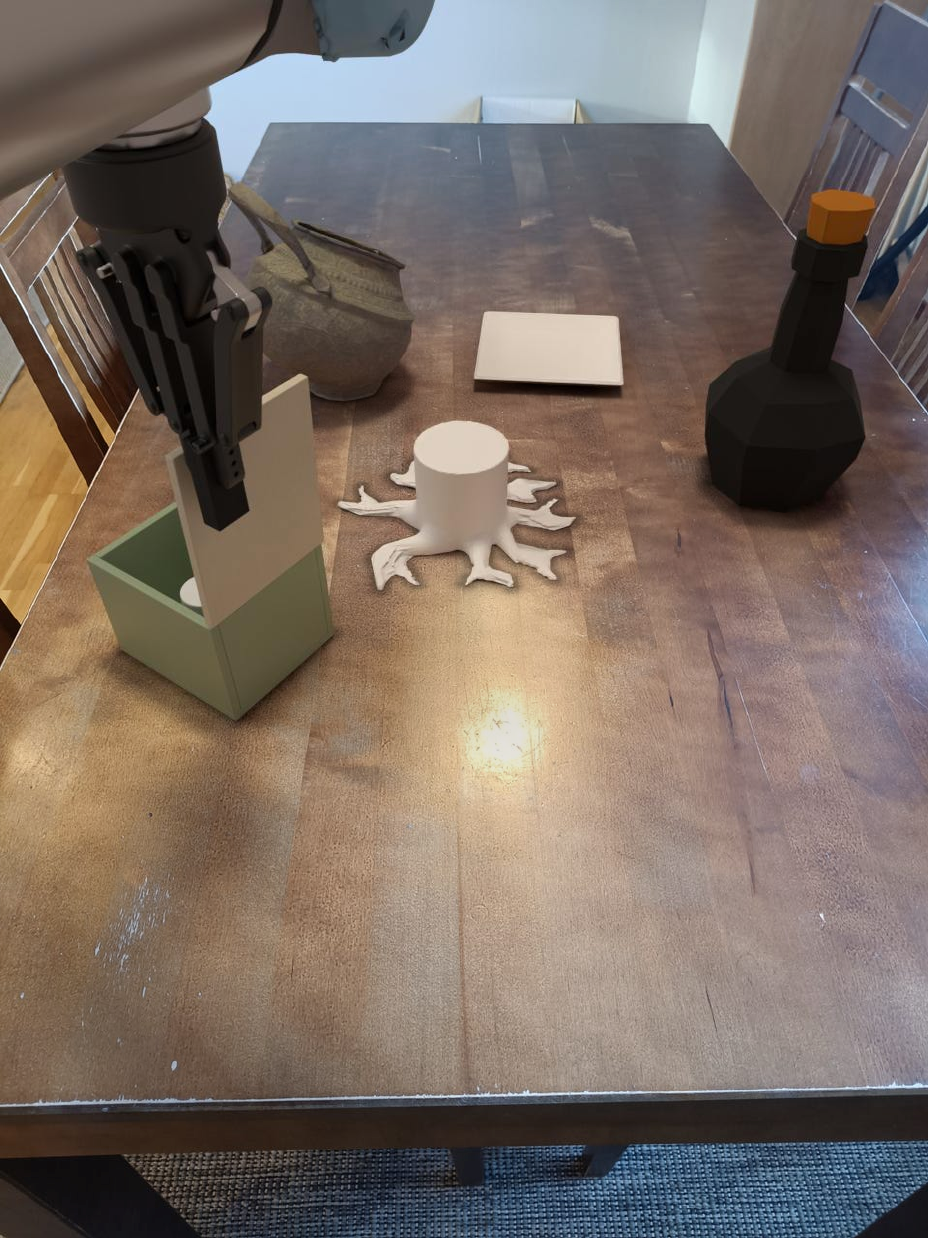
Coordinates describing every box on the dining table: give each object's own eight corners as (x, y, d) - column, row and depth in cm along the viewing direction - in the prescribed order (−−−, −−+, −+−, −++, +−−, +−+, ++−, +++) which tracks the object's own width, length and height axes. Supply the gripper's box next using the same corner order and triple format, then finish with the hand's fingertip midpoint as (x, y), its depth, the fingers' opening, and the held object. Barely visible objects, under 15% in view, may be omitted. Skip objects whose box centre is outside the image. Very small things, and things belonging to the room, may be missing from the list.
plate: (616, 329, 126) (618, 314, 124) (621, 398, 112) (623, 383, 111) (483, 323, 127) (484, 309, 125) (473, 391, 113) (473, 376, 112)
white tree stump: (598, 579, 88) (608, 502, 81) (342, 602, 86) (332, 525, 79) (552, 450, 104) (558, 377, 97) (336, 466, 102) (327, 393, 95)
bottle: (866, 518, 95) (980, 229, 74) (716, 530, 93) (788, 239, 72) (807, 435, 106) (890, 164, 85) (672, 445, 105) (723, 172, 84)
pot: (254, 434, 107) (213, 217, 89) (256, 351, 121) (221, 151, 104) (426, 419, 109) (418, 205, 91) (408, 339, 123) (398, 141, 106)
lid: (163, 454, 56) (172, 459, 56) (299, 372, 64) (308, 376, 64) (205, 624, 67) (213, 629, 67) (317, 537, 75) (324, 541, 75)
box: (121, 650, 81) (85, 559, 74) (222, 574, 89) (199, 484, 81) (236, 721, 75) (210, 630, 68) (334, 634, 83) (321, 543, 75)
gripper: (-18, 120, 43) (116, 511, 60) (165, 173, 38) (257, 586, 54) (108, 84, 48) (201, 458, 64) (288, 127, 42) (339, 523, 59)
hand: (227, 516), depth 59 cm, fingers closed
